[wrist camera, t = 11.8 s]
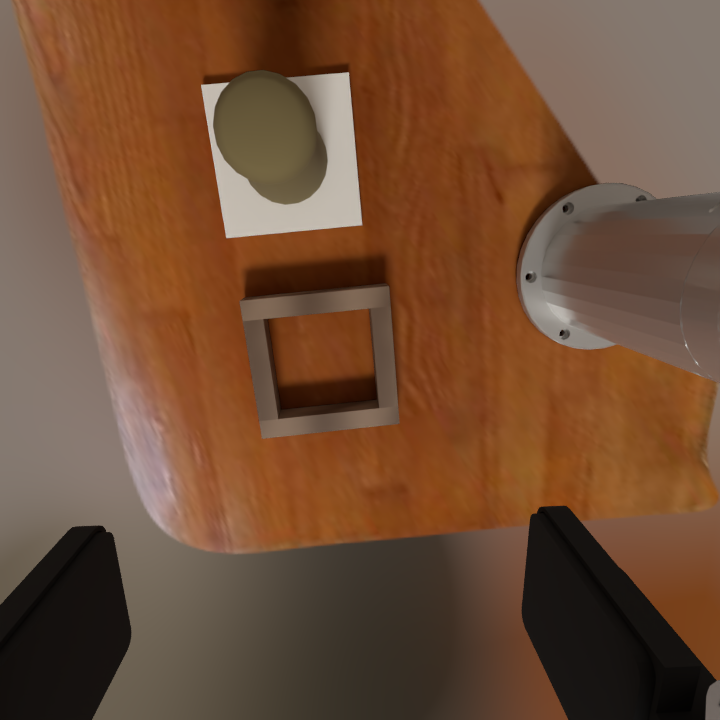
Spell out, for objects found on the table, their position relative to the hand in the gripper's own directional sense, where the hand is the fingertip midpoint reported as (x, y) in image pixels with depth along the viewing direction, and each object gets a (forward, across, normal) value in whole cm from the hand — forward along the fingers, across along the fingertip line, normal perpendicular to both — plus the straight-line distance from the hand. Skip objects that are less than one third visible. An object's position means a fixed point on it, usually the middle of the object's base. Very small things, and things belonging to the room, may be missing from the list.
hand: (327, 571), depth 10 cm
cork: (+26, +3, -12) cm, 29 cm away
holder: (+27, +1, +2) cm, 27 cm away
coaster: (+27, +3, -12) cm, 30 cm away
